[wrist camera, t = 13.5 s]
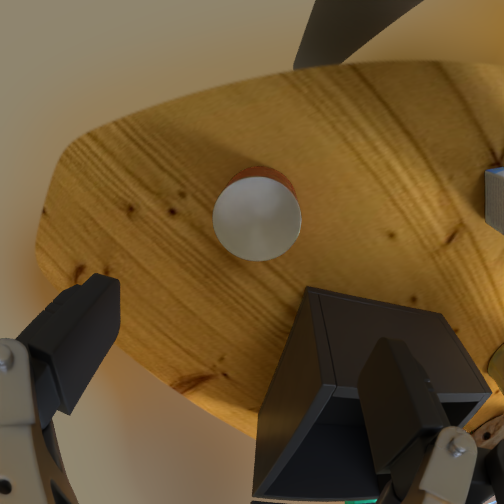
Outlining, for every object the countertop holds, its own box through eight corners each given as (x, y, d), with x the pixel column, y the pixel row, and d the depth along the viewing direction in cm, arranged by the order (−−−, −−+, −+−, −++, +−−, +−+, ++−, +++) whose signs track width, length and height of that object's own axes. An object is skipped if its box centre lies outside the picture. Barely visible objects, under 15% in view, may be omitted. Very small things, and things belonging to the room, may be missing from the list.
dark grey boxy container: (306, 285, 23) (322, 384, 14) (441, 313, 23) (492, 392, 14) (258, 413, 29) (251, 497, 20) (368, 425, 29) (383, 499, 20)
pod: (231, 158, 20) (221, 167, 16) (304, 176, 20) (311, 188, 16) (217, 227, 22) (205, 250, 18) (286, 243, 22) (288, 269, 18)
